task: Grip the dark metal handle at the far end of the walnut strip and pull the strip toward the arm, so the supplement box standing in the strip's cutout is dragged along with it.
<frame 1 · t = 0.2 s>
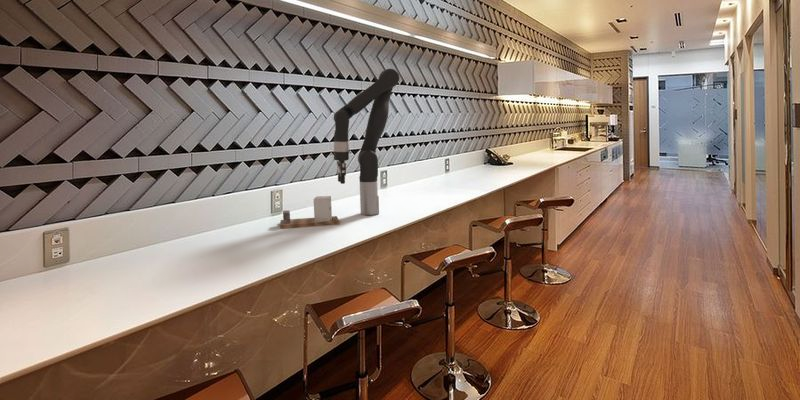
hand: (341, 182, 225), 17 cm above the worktop, tool pointing down, fingers open, 8 cm apart
supplement box: (323, 223, 212), resting in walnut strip
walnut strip: (309, 216, 210), point 3 cm above the worktop, slide at 0.0 cm
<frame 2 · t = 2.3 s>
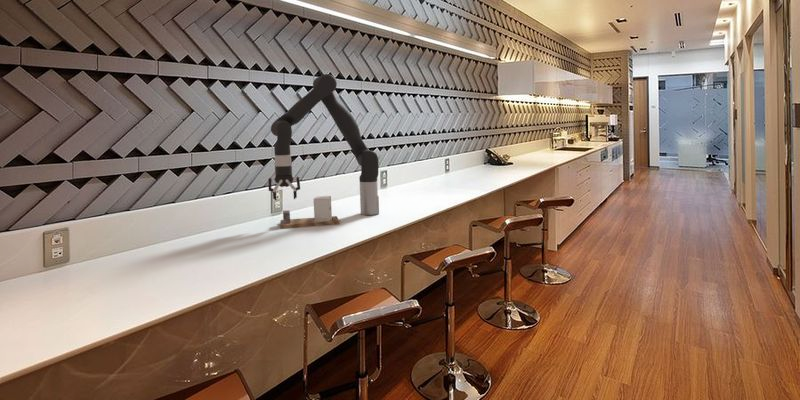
hand: (285, 199, 206), 13 cm above the worktop, tool pointing down, fingers open, 8 cm apart
nothing on the worktop moved.
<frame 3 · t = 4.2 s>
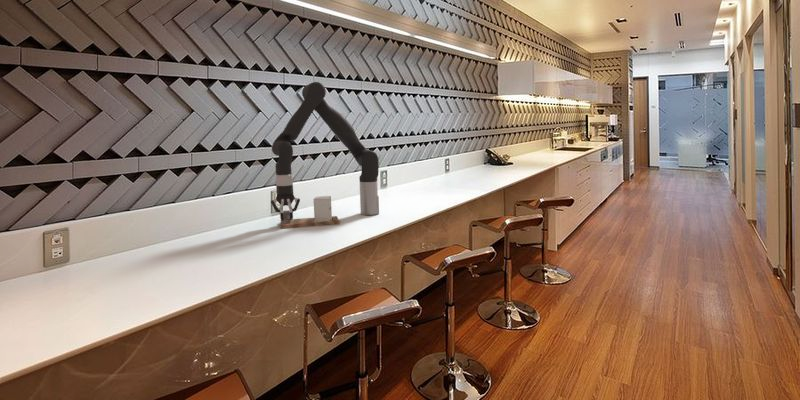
hand: (286, 220, 208), 3 cm above the worktop, tool pointing down, fingers closed on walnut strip, 3 cm apart
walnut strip: (309, 216, 210), point 3 cm above the worktop, slide at 0.0 cm, touching gripper
everything else where it was.
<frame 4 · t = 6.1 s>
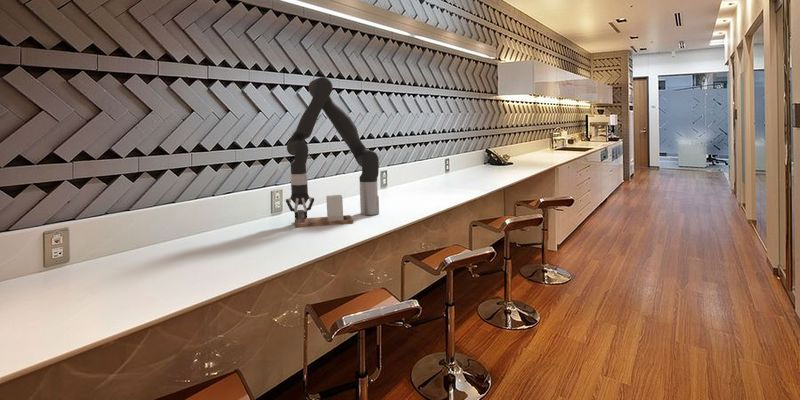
hand: (301, 219, 209), 3 cm above the worktop, tool pointing down, fingers closed on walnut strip, 3 cm apart
supplement box: (335, 222, 214), resting in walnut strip
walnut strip: (323, 215, 211), point 3 cm above the worktop, slide at 6.6 cm, touching gripper, supplement box
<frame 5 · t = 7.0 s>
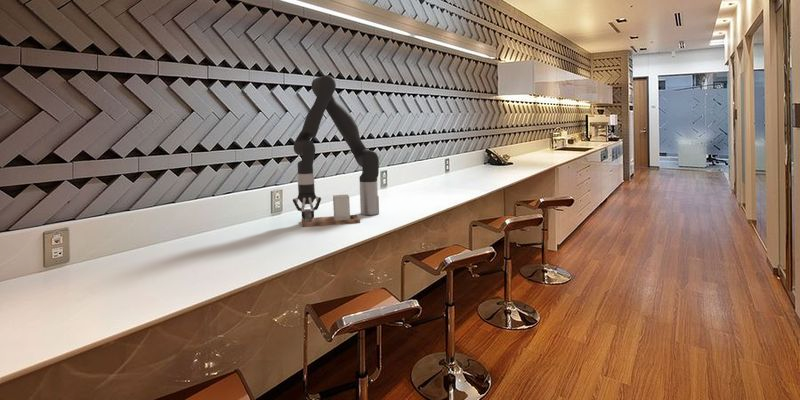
hand: (308, 218, 210), 3 cm above the worktop, tool pointing down, fingers closed on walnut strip, 3 cm apart
supplement box: (342, 221, 215), resting in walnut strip
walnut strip: (330, 215, 212), point 3 cm above the worktop, slide at 9.8 cm, touching gripper
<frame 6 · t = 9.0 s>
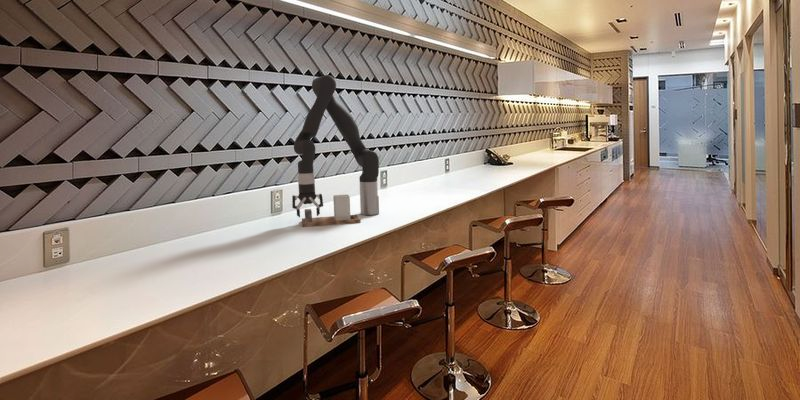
hand: (308, 216, 210), 4 cm above the worktop, tool pointing down, fingers open, 8 cm apart
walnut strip: (330, 215, 212), point 3 cm above the worktop, slide at 10.0 cm
everything else where it was.
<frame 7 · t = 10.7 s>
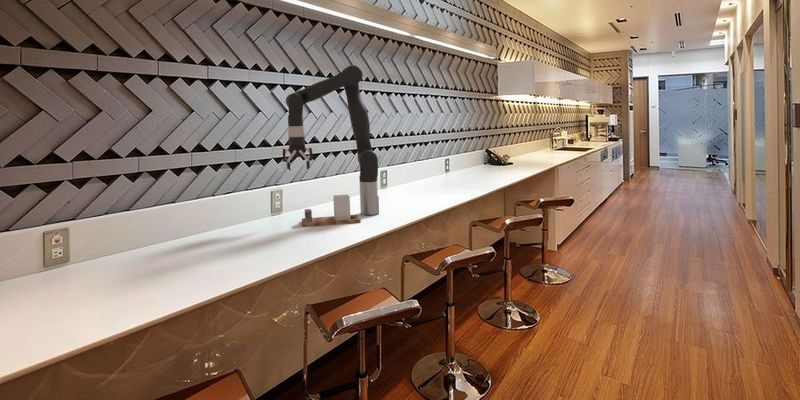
hand: (298, 169, 214), 25 cm above the worktop, tool pointing down, fingers open, 8 cm apart
nothing on the worktop moved.
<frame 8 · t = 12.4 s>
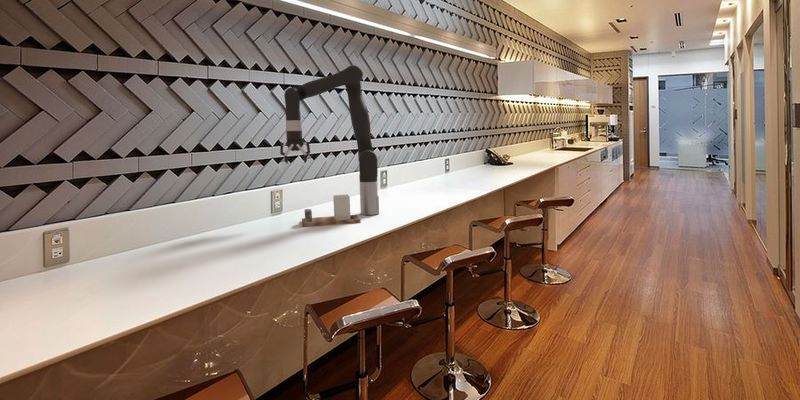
hand: (296, 163, 218), 28 cm above the worktop, tool pointing down, fingers open, 8 cm apart
nothing on the worktop moved.
at the end: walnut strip slide at 10.0 cm; supplement box inside the target area (1.6 cm from its centre), resting in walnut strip; supplement box tilted 0° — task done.
